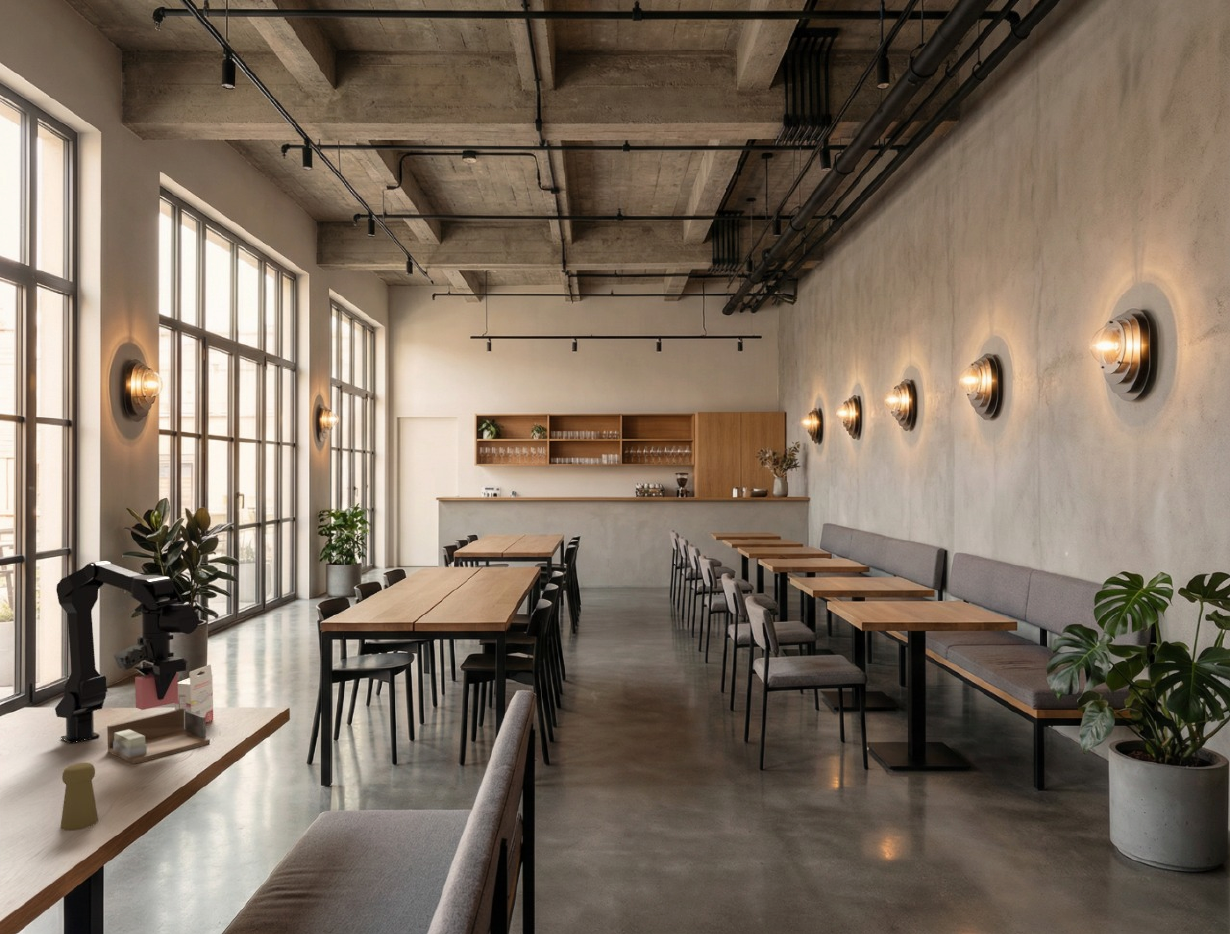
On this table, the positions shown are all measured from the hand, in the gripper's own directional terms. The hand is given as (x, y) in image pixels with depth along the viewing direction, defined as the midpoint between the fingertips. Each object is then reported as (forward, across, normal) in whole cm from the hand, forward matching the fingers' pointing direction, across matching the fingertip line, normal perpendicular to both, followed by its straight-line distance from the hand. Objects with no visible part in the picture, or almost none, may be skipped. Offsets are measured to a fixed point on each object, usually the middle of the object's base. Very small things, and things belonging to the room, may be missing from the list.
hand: (157, 698), depth 200 cm
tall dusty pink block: (+2, 0, 0) cm, 2 cm away
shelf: (+12, -1, +1) cm, 12 cm away
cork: (+12, +31, -27) cm, 43 cm away
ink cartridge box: (+12, -12, +14) cm, 22 cm away
